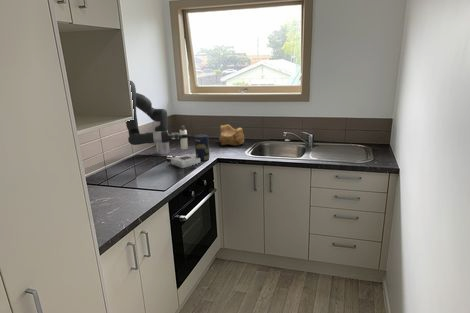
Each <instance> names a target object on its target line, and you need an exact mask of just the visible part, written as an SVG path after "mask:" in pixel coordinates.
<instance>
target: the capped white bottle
mask: <svg viewBox="0 0 470 313" xmlns="http://www.w3.org/2000/svg"><path fill="white" fill-rule="evenodd" d="M179 132H180V135H186V134H188V132H187V129H186V127H185V125H180V129H179ZM187 149H189V143H188V138H182V139H181V140H180V150H187Z"/></svg>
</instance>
